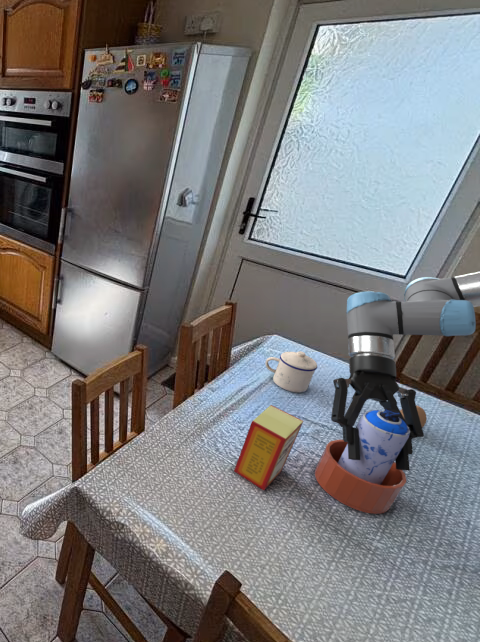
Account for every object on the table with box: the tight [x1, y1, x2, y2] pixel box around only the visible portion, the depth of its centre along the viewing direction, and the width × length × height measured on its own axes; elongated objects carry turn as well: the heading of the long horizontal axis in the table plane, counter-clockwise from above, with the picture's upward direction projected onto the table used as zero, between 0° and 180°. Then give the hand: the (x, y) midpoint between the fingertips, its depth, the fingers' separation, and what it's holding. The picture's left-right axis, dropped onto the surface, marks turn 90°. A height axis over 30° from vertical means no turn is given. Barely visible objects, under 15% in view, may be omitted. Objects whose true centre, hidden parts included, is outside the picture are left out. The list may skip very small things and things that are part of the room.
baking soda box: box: [233, 404, 304, 491], centre depth 95 cm, size 10×6×16 cm
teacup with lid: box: [264, 350, 318, 394], centre depth 126 cm, size 12×9×12 cm
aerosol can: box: [338, 408, 410, 485], centre depth 89 cm, size 8×8×20 cm
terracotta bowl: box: [314, 439, 407, 515], centre depth 92 cm, size 13×13×8 cm
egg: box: [399, 404, 428, 429], centre depth 108 cm, size 5×5×8 cm
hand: (378, 464), depth 86 cm, fingers closed on aerosol can, 7 cm apart
